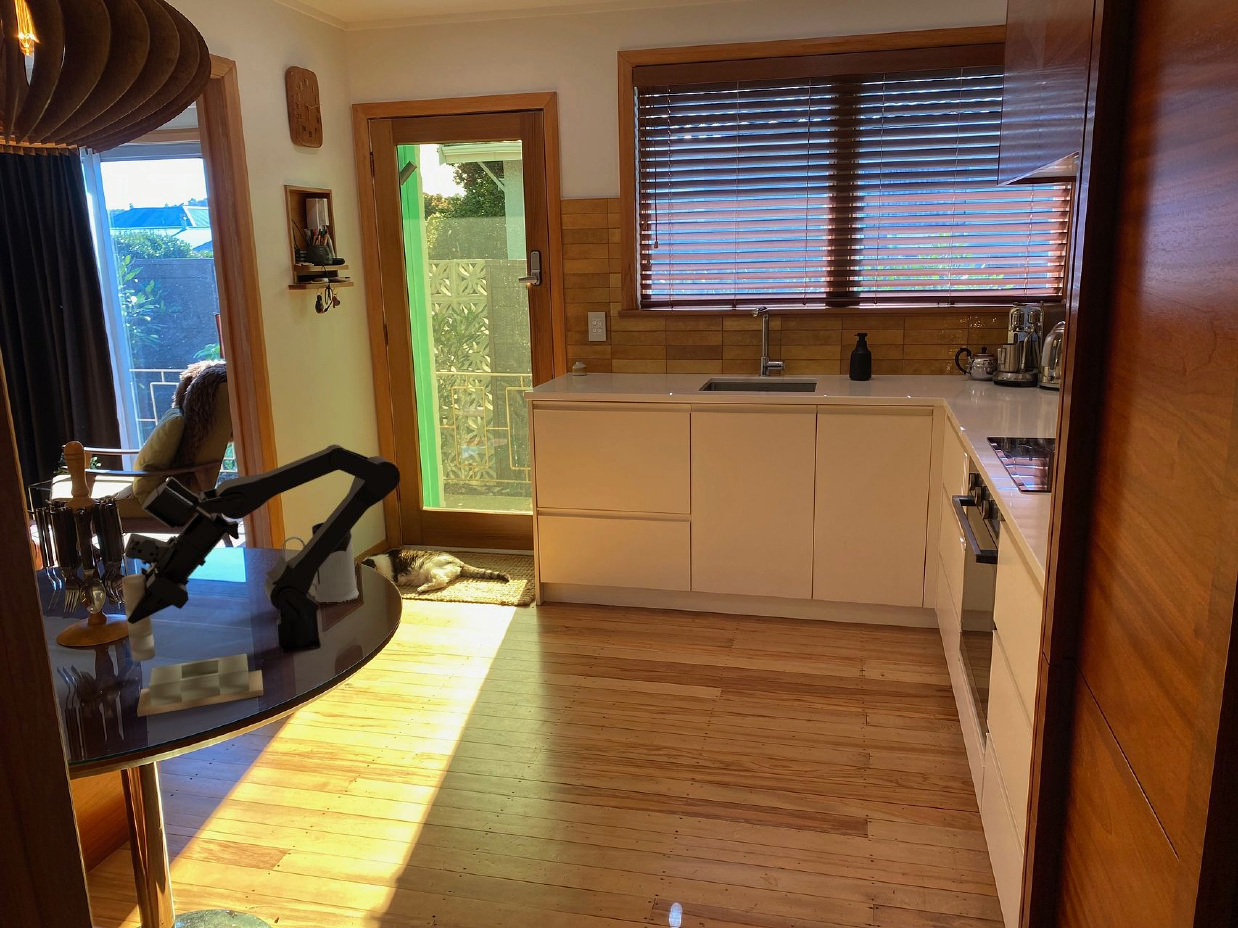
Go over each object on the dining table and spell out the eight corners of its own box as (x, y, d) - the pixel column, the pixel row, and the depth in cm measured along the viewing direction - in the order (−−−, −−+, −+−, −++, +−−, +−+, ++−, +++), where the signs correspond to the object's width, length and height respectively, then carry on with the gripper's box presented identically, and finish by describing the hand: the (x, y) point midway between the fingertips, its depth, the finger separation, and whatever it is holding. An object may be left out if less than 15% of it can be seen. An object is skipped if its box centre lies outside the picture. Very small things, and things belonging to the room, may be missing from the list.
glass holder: (362, 598, 194) (357, 528, 191) (290, 610, 188) (283, 537, 184) (354, 586, 201) (348, 518, 198) (284, 597, 195) (277, 527, 192)
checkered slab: (261, 675, 158) (259, 650, 157) (263, 695, 150) (260, 668, 149) (142, 695, 151) (138, 669, 150) (137, 716, 144) (134, 689, 143)
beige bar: (156, 651, 160) (146, 572, 157) (154, 659, 157) (144, 579, 154) (133, 655, 159) (122, 575, 156) (131, 662, 156) (120, 582, 153)
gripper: (149, 504, 163) (84, 576, 160) (156, 529, 147) (85, 609, 144) (203, 540, 168) (142, 611, 165) (216, 568, 152) (148, 647, 149)
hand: (129, 618), depth 156 cm, fingers closed on beige bar, 3 cm apart
